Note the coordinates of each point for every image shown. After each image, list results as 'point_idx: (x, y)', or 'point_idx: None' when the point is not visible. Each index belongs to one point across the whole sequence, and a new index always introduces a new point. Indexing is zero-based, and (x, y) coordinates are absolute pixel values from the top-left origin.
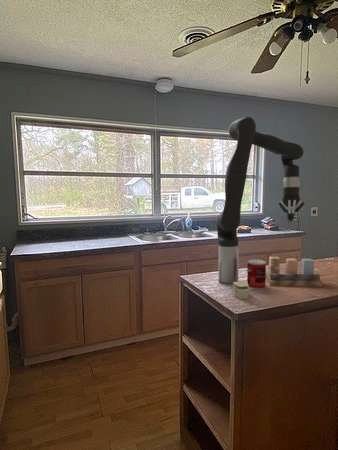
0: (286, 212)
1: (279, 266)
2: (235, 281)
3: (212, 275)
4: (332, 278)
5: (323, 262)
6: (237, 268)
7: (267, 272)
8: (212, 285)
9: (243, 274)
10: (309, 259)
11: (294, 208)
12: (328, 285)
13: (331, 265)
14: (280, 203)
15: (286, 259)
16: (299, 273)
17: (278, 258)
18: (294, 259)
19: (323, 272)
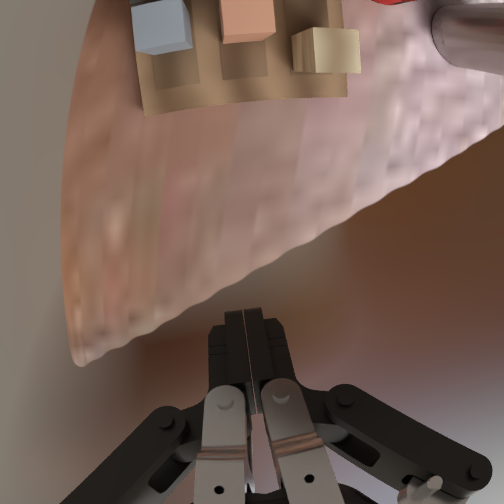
0: (324, 392)
1: (301, 32)
2: (441, 8)
3: (490, 99)
4: (72, 107)
5: (93, 322)
6: (464, 13)
7: (333, 83)
8: (487, 2)
9: (409, 107)
10: (147, 28)
11: (207, 455)
12: (107, 8)
13: (68, 289)
14: (470, 480)
15: (274, 24)
16: (194, 81)
17: (318, 30)
18: (232, 12)
19: (92, 187)
